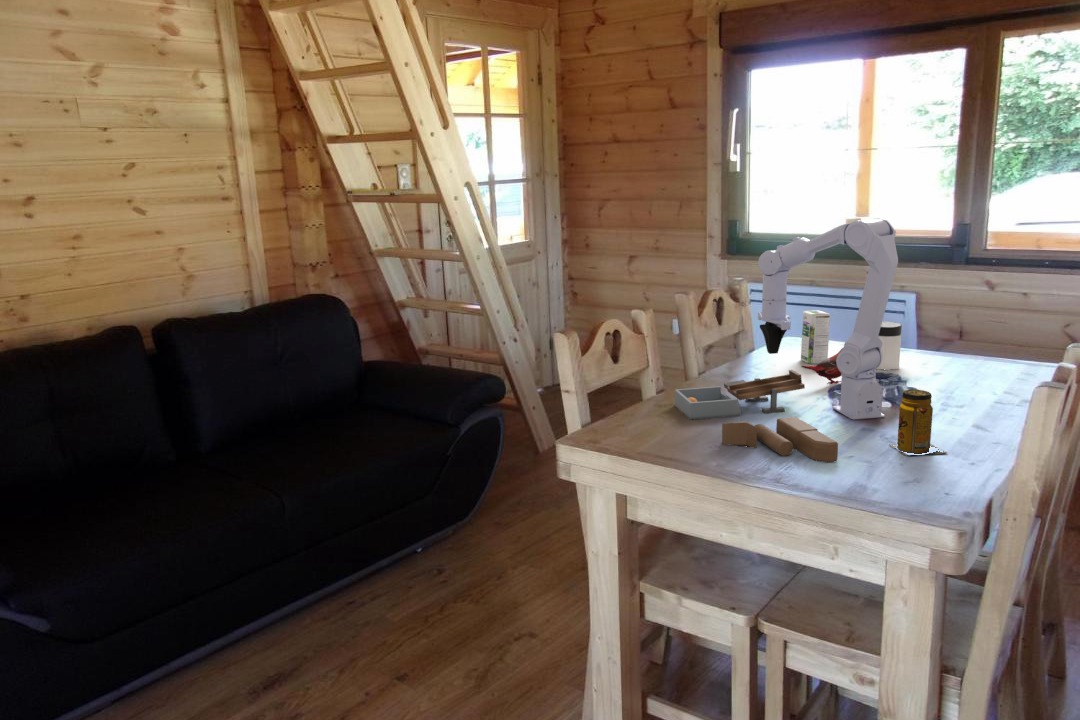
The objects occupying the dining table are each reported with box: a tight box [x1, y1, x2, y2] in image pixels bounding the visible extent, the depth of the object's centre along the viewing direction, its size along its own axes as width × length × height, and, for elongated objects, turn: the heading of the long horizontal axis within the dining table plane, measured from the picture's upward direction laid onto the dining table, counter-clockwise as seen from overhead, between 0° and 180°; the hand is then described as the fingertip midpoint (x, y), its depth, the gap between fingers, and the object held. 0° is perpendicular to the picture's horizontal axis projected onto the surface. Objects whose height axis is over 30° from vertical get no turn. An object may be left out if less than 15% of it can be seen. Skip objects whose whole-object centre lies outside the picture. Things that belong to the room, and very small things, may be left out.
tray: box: [674, 385, 741, 421], centre depth 198 cm, size 12×12×4 cm
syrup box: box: [800, 309, 831, 365], centre depth 240 cm, size 6×6×14 cm
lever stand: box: [745, 377, 786, 415], centre depth 200 cm, size 5×11×6 cm, turn 8°
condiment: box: [888, 389, 948, 457], centre depth 167 cm, size 7×8×12 cm
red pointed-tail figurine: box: [800, 347, 843, 385], centre depth 215 cm, size 3×18×10 cm, turn 112°
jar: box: [876, 321, 902, 371], centre depth 231 cm, size 9×8×12 cm
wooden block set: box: [721, 416, 839, 463], centre depth 169 cm, size 17×6×18 cm
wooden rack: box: [723, 369, 806, 401], centre depth 201 cm, size 16×12×3 cm
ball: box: [688, 397, 697, 402], centre depth 198 cm, size 3×3×3 cm
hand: (772, 353), depth 209 cm, fingers closed
